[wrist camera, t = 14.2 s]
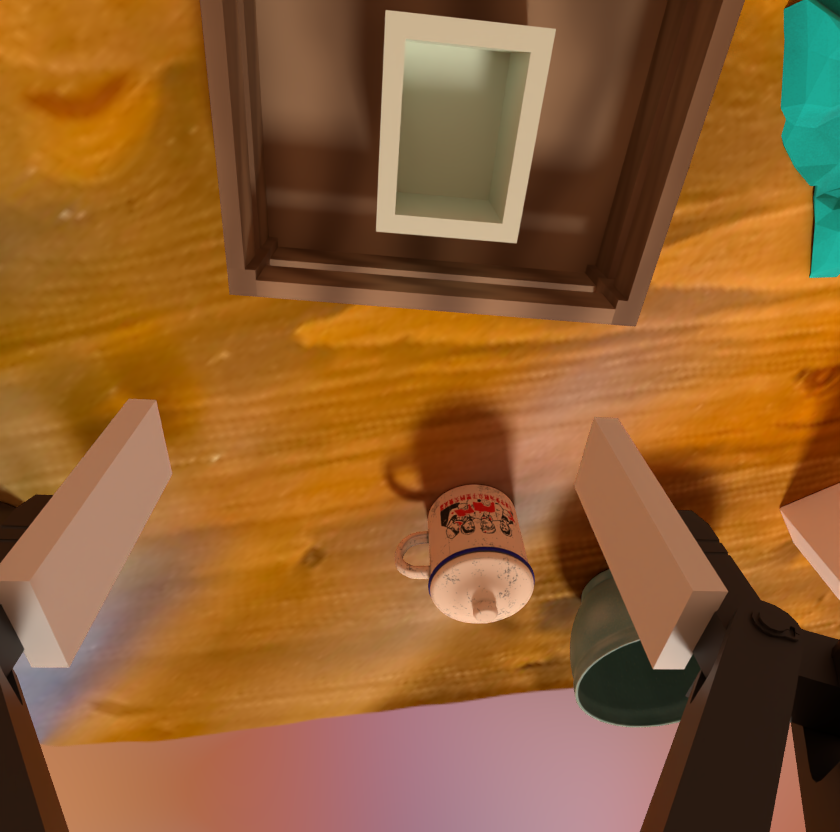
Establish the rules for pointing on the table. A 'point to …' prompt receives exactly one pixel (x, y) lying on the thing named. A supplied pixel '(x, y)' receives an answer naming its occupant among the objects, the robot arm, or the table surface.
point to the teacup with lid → (472, 556)
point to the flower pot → (621, 665)
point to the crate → (549, 174)
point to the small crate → (458, 124)
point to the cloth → (815, 118)
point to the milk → (818, 532)
